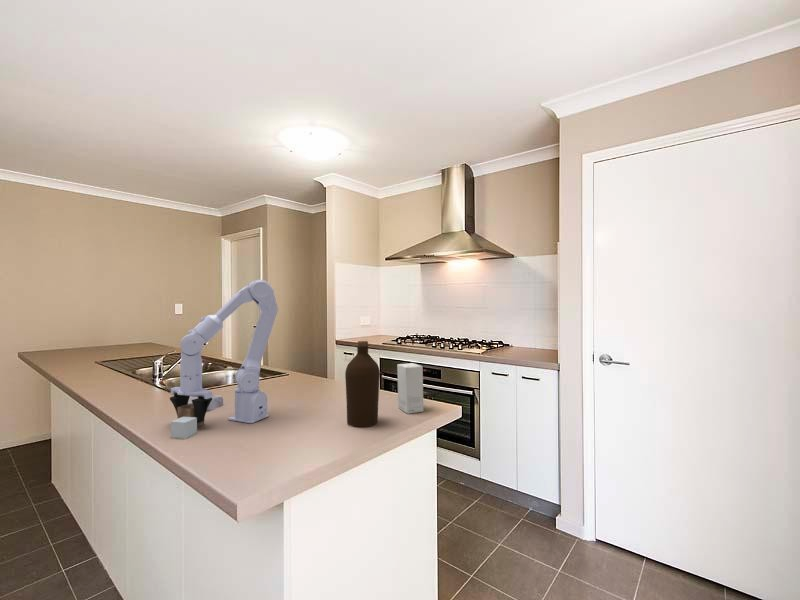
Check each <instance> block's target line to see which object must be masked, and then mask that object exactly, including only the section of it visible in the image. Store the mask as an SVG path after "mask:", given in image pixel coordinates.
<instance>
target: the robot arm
mask: <svg viewBox="0 0 800 600" xmlns="http://www.w3.org/2000/svg"><path fill="white" fill-rule="evenodd" d="M275 296H276V295H275V289H274V288H273V287H272V286H271V284H270V282H268V280H264V279H256V280H253V281H250V282H249V283H248V284H247V285H245V286H244V287H243V288H241V289H240V290H239V291H237V292H236V293H234V295H233V296H232V297H231V298H230V299H229V300H227V302H226V303H225V304H224V305H223V306H222V307H221V308H220V309H218V311H217V312H216V313H215V314H208V315H206V316H202V317H201V318H200V322H199V323H198V324H197V325H196V326H194V328H192V329H189V330H188V331H187V332H188V333H189V334H186V335H184V336H183V337H182V338H181V341H180V342H179V346H180V347H179V348H180V350H181V353H180V358H181V359H180V361H179V363H180V364H179V378H180V379H179V382H180V383H179V385H180V386H175V387H170V395H173V396H170V397H169V401H170V402H171V403H172V405H173V407H174V409H175V412H176V416H177V417H178V407H180V406H184V405H187V404H188V401H189V398H190V397H198V398H197V399H194V400H192V403H193V405H194V409H195V417H196V418H197V423H200V422H202V421H204V422H205V417H206V413H207V412H208V411H207V408H208V406H209V404H210V402H211V401H212V395H213V391H212V390H208V389H205V388H203V357H202V350H203V348H204V344H207V343H209V342H210V341H211V339H213V338H214V337H215V336H216V335H217V334H218V333H219V332H220V331H221V330H222V329H223V328H224V322H225V320H226V319H227V318H228V317H229V316H231V315H232V314H233V313H234V312H235V311H236V310H238V309H239V307H240V306H242V305H244V304H246V303H247V304H248V303H250V302H253V301H254V303H255V304H256V306H257V307H258V309H259V310H260V314H259V316H258V320H257V323H256V326H255V328H254V332H253V335H252V338H251V341H250V342H249V346H248V348H247V349H248V350H247V352H246V356H245V357H244V360H243V361H242V364H241V366H240V368H239V369H237V370H236V372H235V375H234V380H235V382H236V384H237V386H236V387H235V388H234V415H233V416H230V417H228V418H227V419H228V420H229V421H234V422H240V423H248V424H253V423H256V422H259V421H260V420H263V419H265V418H267V417H270V414H268V397H267V396H268V395H267V394H266V393H265V392H264V391H261V390H260V386H259V385H260V380H261V378H260V372H261V367H262V366H261V364H262V363H261V362H262V360H263V356H264V353H265V351H266V347H267V345H268V342H269V339H270V335H271V332H272V330H273V326H274V323H275V321H276V317H277V314H278V313H279V311H278V310H279V308H278V304H277V299H276V297H275Z"/></svg>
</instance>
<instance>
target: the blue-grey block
mask: <svg viewBox="0 0 800 600" xmlns="http://www.w3.org/2000/svg"><path fill="white" fill-rule="evenodd" d="M197 433H198V427H197V418H196V417H181V418H178V417H177V418H176V419H173V420H171V421H170V438H172V439H181V440H182V439H183V440H186V439H188V438H190V437H192V436H194V435H196V434H197Z"/></svg>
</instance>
